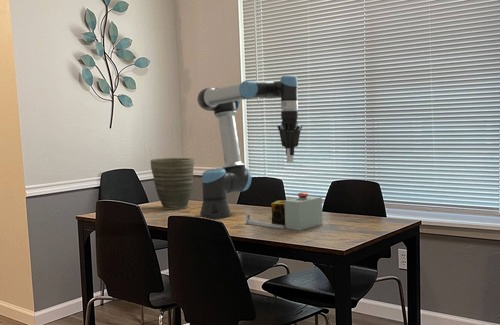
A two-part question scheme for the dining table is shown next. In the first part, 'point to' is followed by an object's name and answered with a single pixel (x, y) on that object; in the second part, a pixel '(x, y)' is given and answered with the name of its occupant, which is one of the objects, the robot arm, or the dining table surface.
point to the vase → (173, 181)
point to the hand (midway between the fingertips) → (290, 162)
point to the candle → (278, 212)
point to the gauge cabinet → (303, 213)
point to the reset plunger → (302, 196)
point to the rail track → (263, 223)
